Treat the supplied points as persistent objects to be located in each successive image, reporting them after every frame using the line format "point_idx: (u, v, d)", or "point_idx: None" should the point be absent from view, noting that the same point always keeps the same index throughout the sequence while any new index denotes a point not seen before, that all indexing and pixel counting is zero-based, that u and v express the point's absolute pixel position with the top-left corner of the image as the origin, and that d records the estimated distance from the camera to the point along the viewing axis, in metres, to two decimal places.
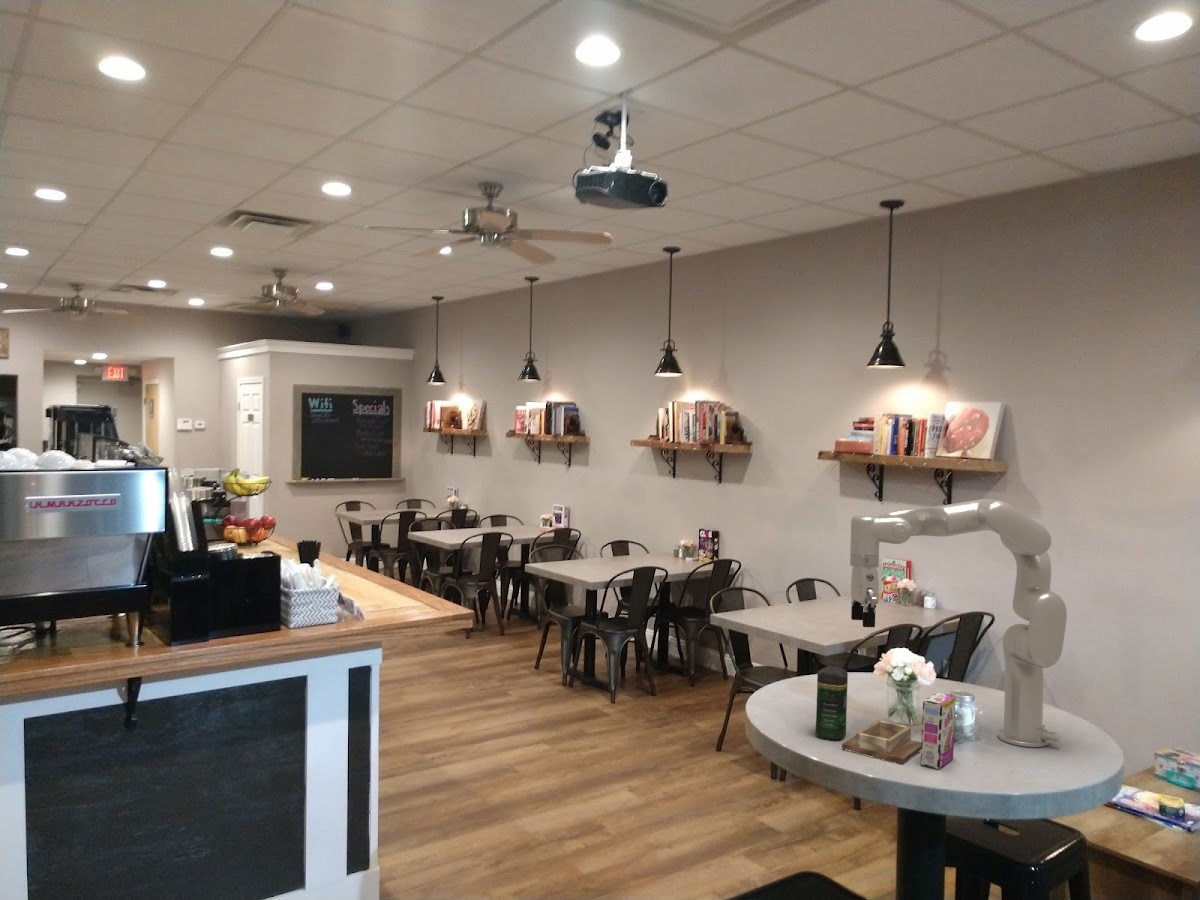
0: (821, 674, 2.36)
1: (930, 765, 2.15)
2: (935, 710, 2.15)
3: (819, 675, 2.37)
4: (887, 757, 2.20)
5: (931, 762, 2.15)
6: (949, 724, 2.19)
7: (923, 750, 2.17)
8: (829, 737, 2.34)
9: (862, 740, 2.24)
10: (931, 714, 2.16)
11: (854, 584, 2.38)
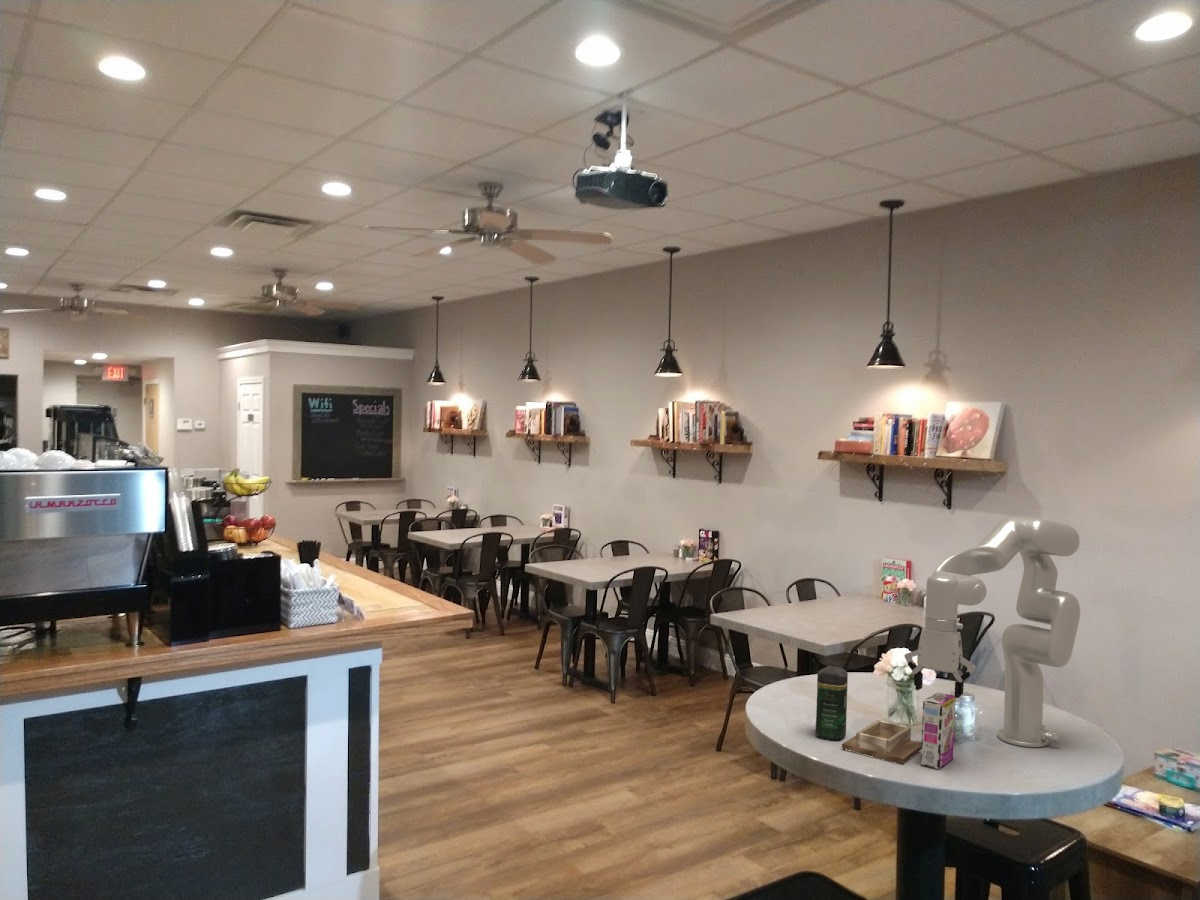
0: (821, 674, 2.36)
1: (930, 765, 2.15)
2: (935, 710, 2.15)
3: (819, 675, 2.37)
4: (887, 757, 2.20)
5: (931, 762, 2.15)
6: (949, 724, 2.19)
7: (923, 750, 2.17)
8: (829, 737, 2.34)
9: (862, 740, 2.24)
10: (931, 714, 2.16)
11: (935, 652, 2.18)
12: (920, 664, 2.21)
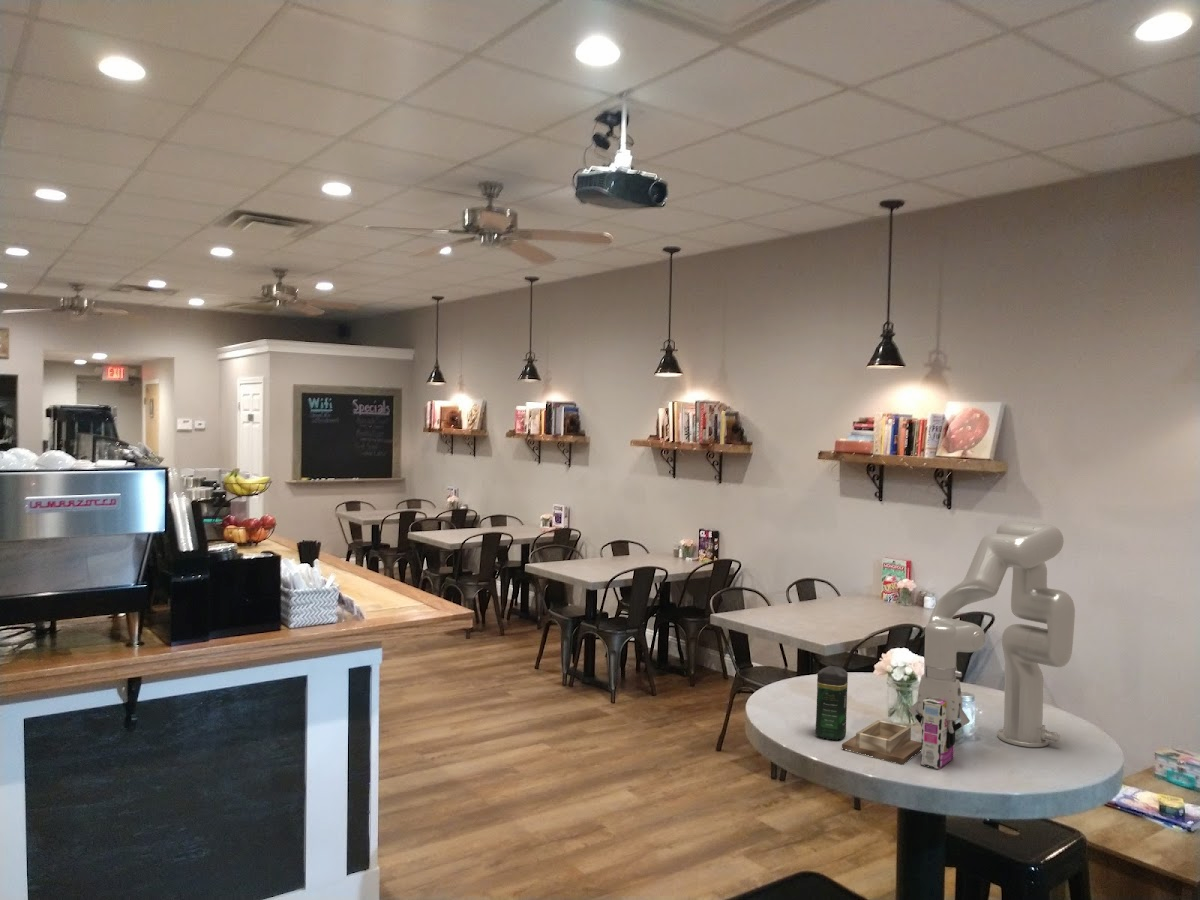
0: (821, 674, 2.36)
1: (930, 765, 2.15)
2: (935, 710, 2.15)
3: (819, 675, 2.37)
4: (887, 757, 2.20)
5: (931, 762, 2.15)
6: None
7: (923, 750, 2.17)
8: (829, 737, 2.34)
9: (862, 740, 2.24)
10: (931, 714, 2.16)
11: None
12: (920, 712, 2.21)
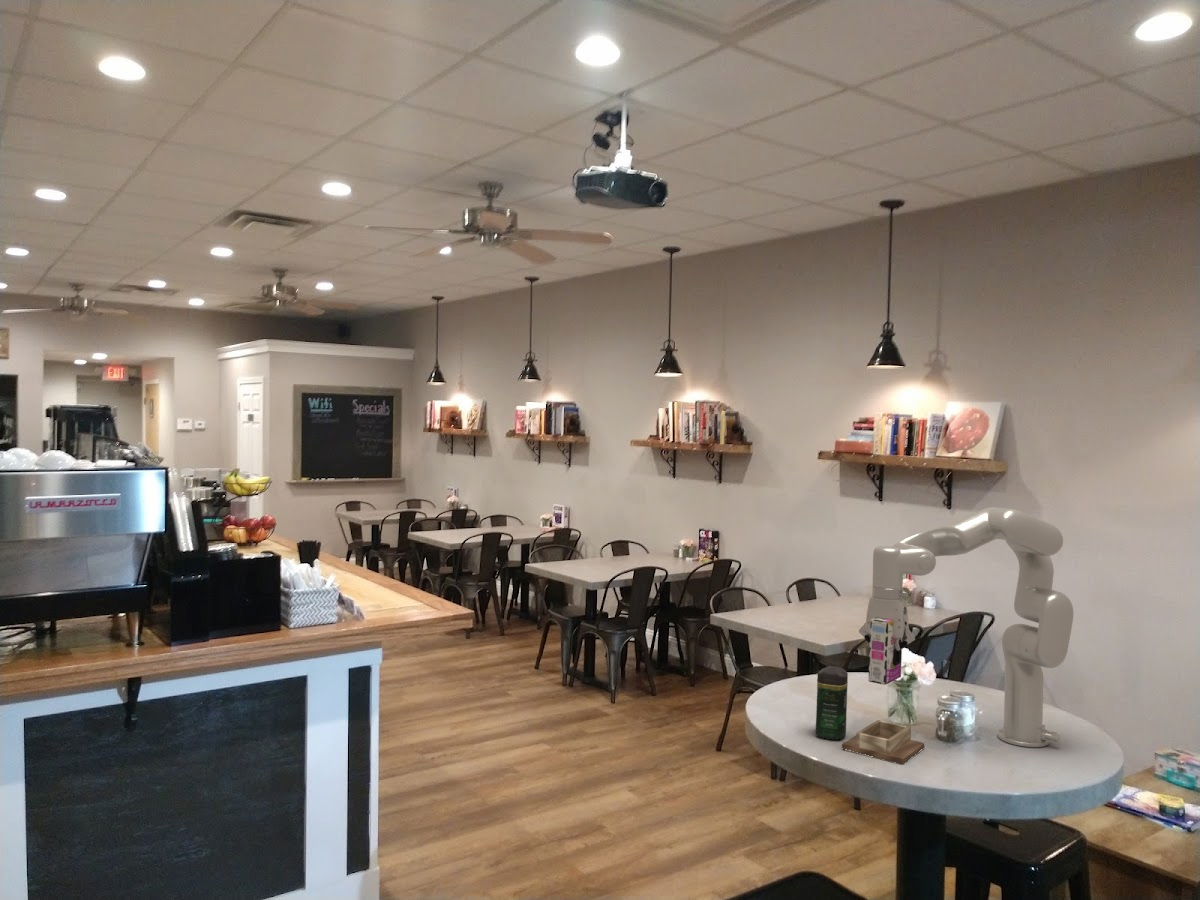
0: (821, 674, 2.36)
1: (877, 681, 2.24)
2: (881, 628, 2.24)
3: (819, 675, 2.37)
4: (887, 757, 2.20)
5: (878, 678, 2.24)
6: None
7: (871, 667, 2.25)
8: (829, 737, 2.34)
9: (862, 740, 2.24)
10: (878, 632, 2.24)
11: None
12: (868, 631, 2.30)
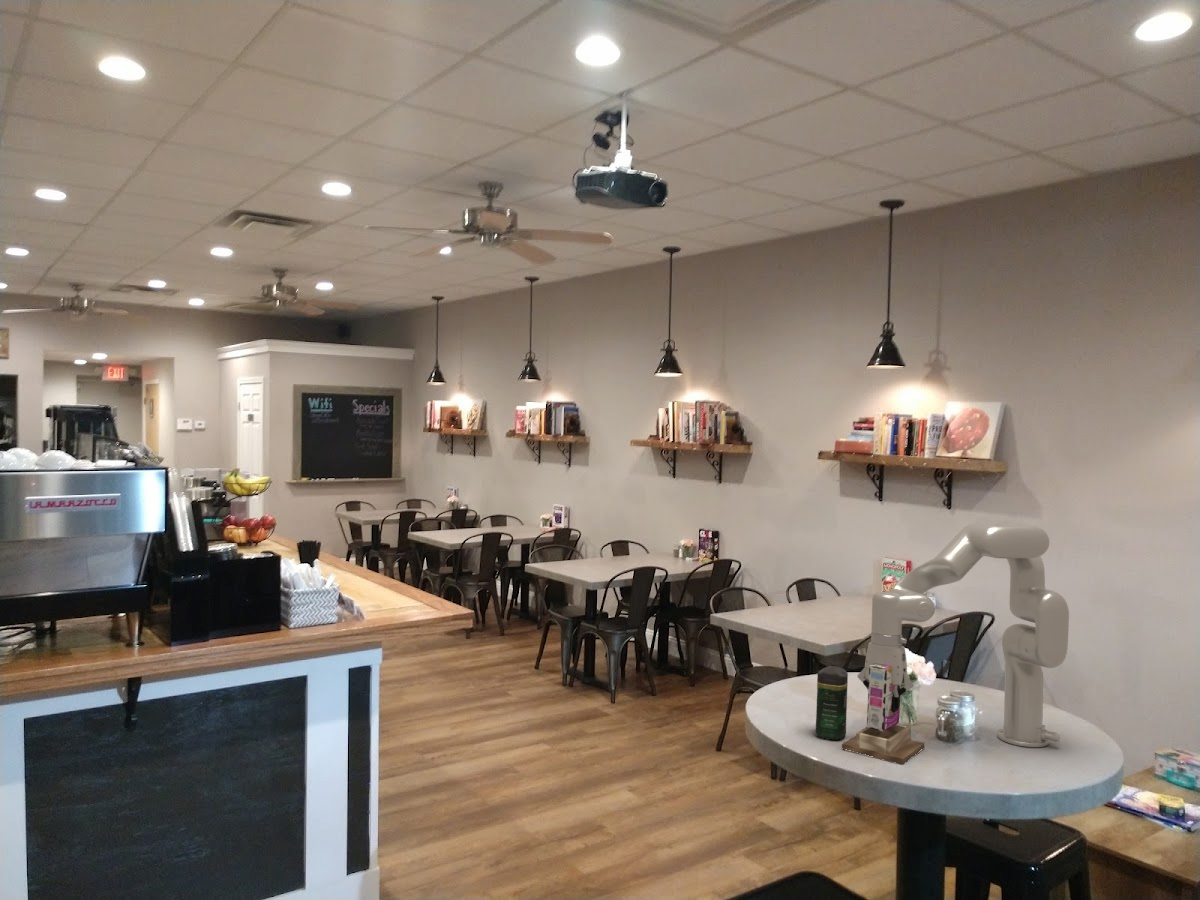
0: (821, 674, 2.36)
1: (875, 728, 2.24)
2: (880, 675, 2.24)
3: (819, 675, 2.37)
4: (887, 757, 2.20)
5: (877, 725, 2.24)
6: None
7: (869, 713, 2.25)
8: (829, 737, 2.34)
9: (862, 740, 2.24)
10: (876, 679, 2.24)
11: None
12: (867, 677, 2.29)
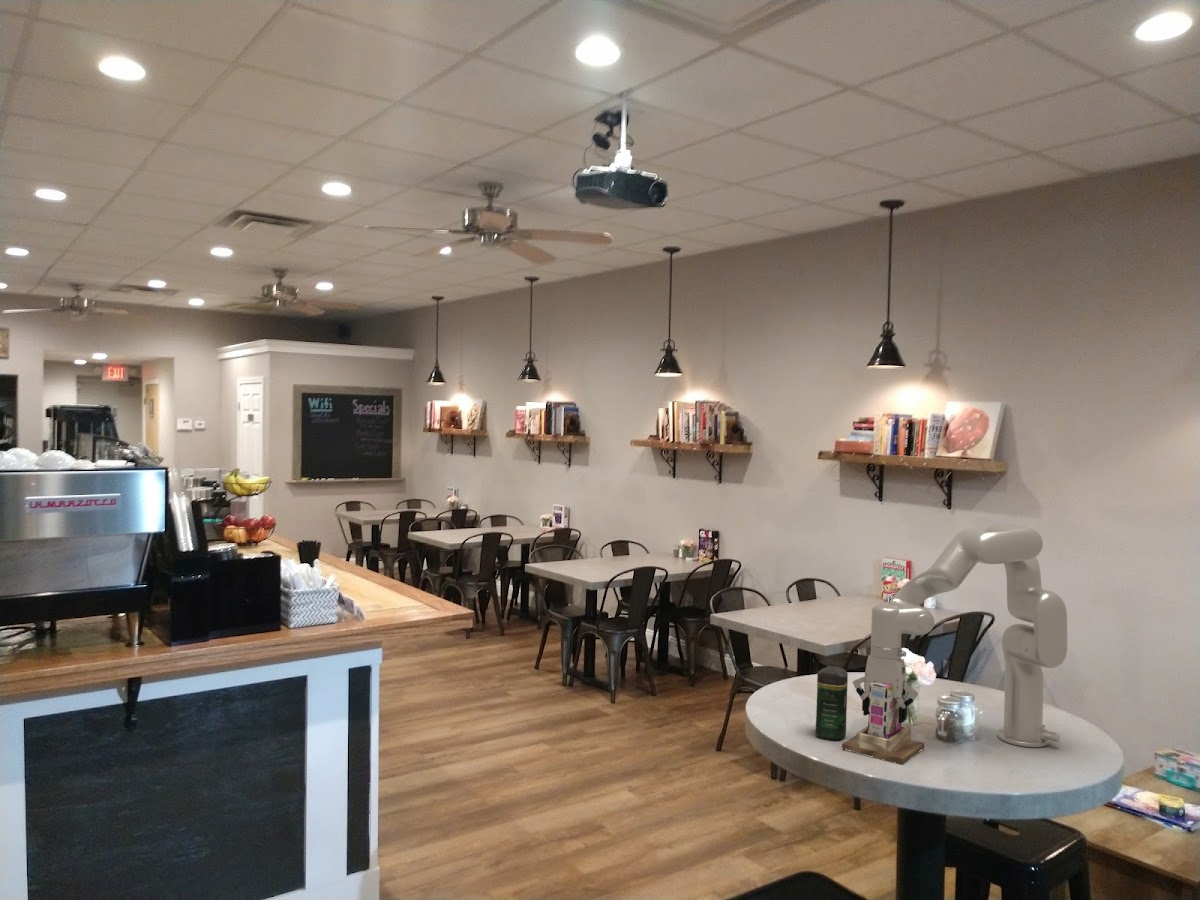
0: (821, 674, 2.36)
1: None
2: (881, 693, 2.24)
3: (819, 675, 2.37)
4: (887, 757, 2.20)
5: None
6: (895, 707, 2.27)
7: (870, 731, 2.25)
8: (829, 737, 2.34)
9: (862, 740, 2.24)
10: (877, 697, 2.24)
11: (880, 679, 2.27)
12: (867, 690, 2.30)
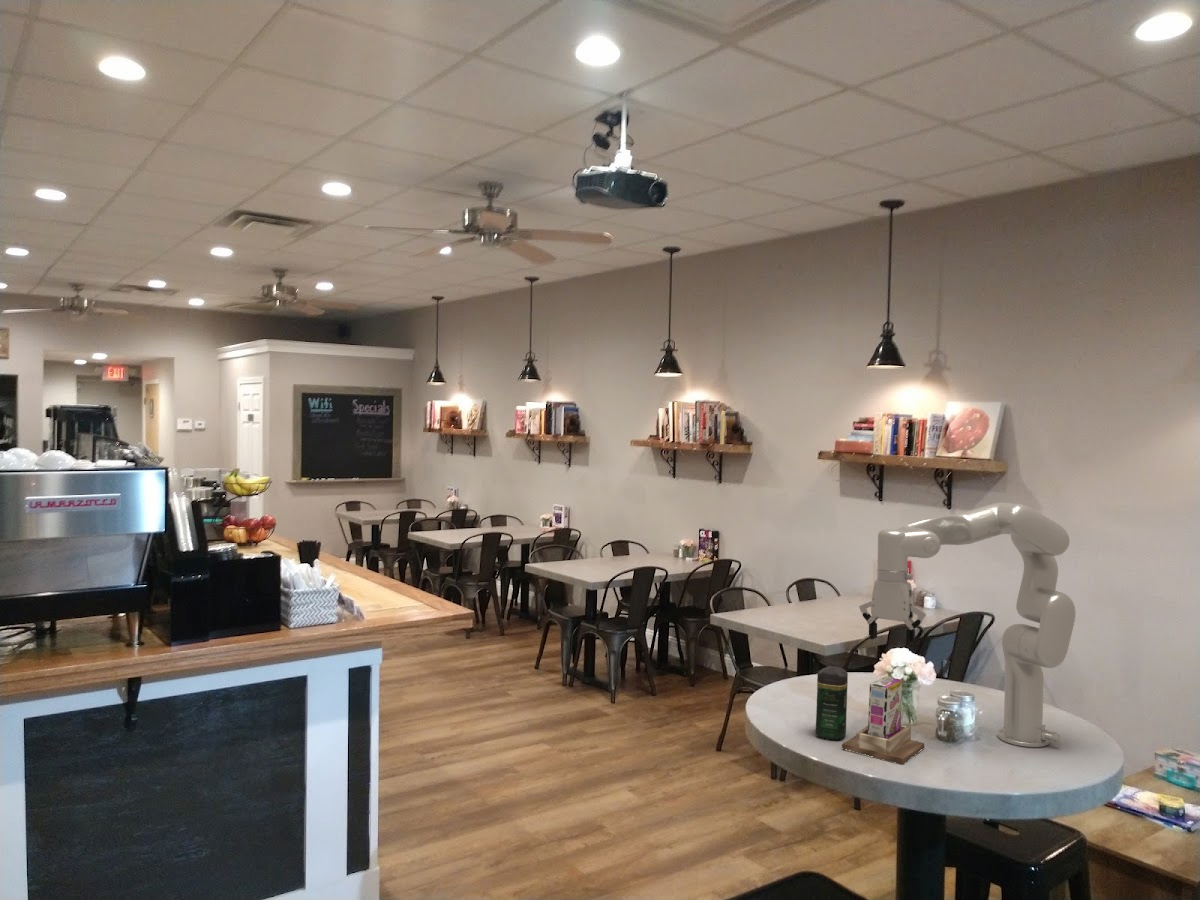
0: (821, 674, 2.36)
1: None
2: (881, 693, 2.24)
3: (819, 675, 2.37)
4: (887, 757, 2.20)
5: None
6: (895, 707, 2.27)
7: (870, 731, 2.25)
8: (829, 737, 2.34)
9: (862, 740, 2.24)
10: (877, 697, 2.24)
11: (887, 602, 2.28)
12: (874, 614, 2.30)
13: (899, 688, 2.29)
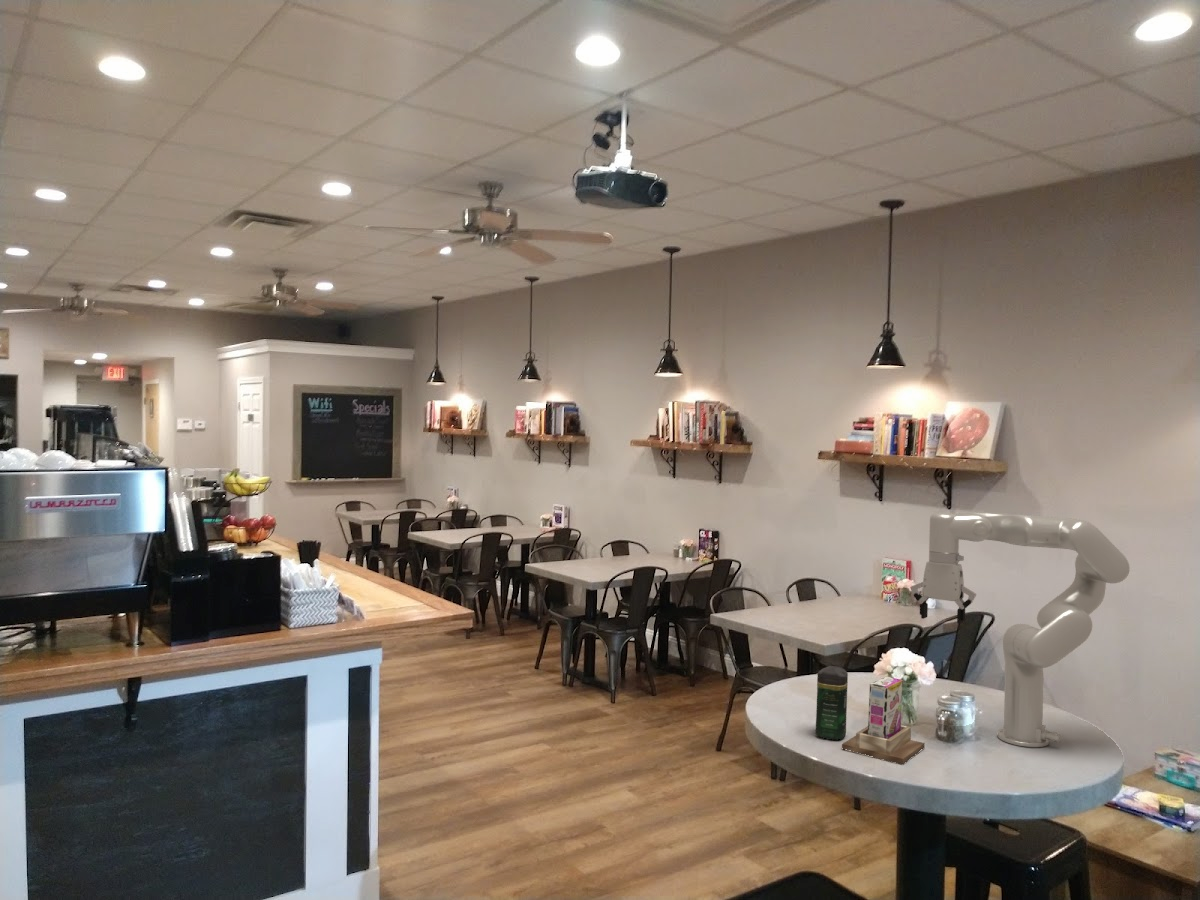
0: (821, 674, 2.36)
1: None
2: (881, 693, 2.24)
3: (819, 675, 2.37)
4: (887, 757, 2.20)
5: None
6: (895, 707, 2.27)
7: (870, 731, 2.25)
8: (829, 737, 2.34)
9: (862, 740, 2.24)
10: (877, 697, 2.24)
11: (938, 582, 2.37)
12: (925, 594, 2.40)
13: (899, 688, 2.29)
